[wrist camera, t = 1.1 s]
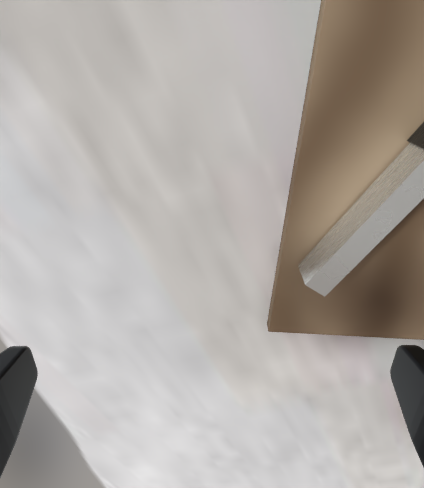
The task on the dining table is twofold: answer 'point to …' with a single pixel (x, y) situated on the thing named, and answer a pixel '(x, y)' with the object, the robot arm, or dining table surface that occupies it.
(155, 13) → the dining table surface
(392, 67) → the board
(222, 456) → the dining table surface
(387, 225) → the bar
